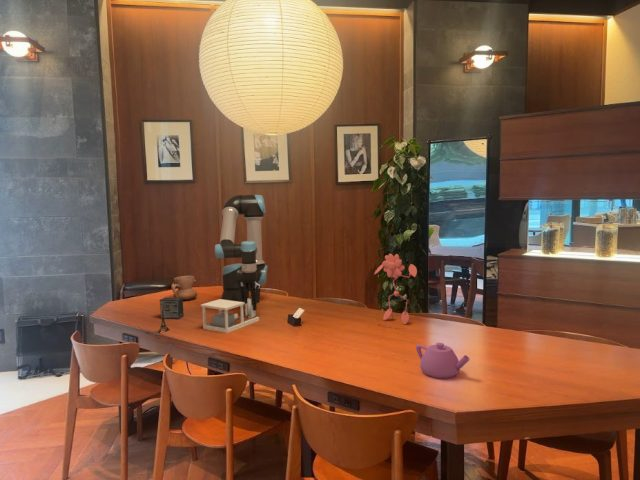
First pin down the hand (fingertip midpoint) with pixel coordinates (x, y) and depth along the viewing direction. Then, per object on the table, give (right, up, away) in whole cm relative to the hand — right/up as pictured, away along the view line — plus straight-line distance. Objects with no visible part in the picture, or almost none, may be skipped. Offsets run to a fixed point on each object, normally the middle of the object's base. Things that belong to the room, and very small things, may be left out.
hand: (250, 315), depth 241 cm
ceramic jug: (-49, +2, +51) cm, 71 cm away
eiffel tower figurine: (-39, -5, -19) cm, 44 cm away
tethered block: (-6, -2, -10) cm, 12 cm away
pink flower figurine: (+72, -2, -12) cm, 73 cm away
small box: (-43, -2, +8) cm, 44 cm away
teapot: (+80, -8, -75) cm, 110 cm away
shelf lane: (-7, -3, -12) cm, 15 cm away
